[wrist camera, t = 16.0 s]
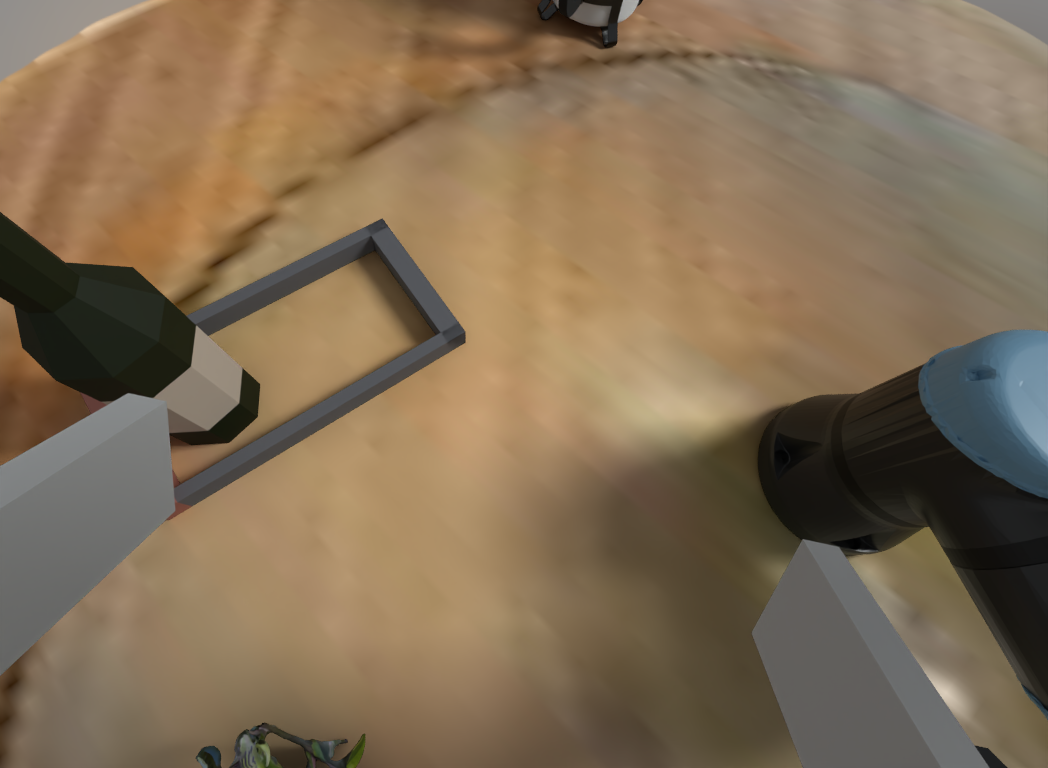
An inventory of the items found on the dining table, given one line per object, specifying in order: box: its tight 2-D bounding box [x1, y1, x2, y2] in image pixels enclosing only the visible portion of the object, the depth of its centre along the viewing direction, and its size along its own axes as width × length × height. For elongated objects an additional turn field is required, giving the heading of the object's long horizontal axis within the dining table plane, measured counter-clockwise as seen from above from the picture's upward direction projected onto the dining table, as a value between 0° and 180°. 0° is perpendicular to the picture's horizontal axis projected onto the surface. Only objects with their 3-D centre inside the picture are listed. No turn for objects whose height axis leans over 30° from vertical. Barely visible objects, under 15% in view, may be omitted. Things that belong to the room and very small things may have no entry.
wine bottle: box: [0, 212, 260, 445], centre depth 35 cm, size 8×8×30 cm
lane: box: [80, 219, 465, 520], centre depth 49 cm, size 30×15×4 cm, turn 126°
